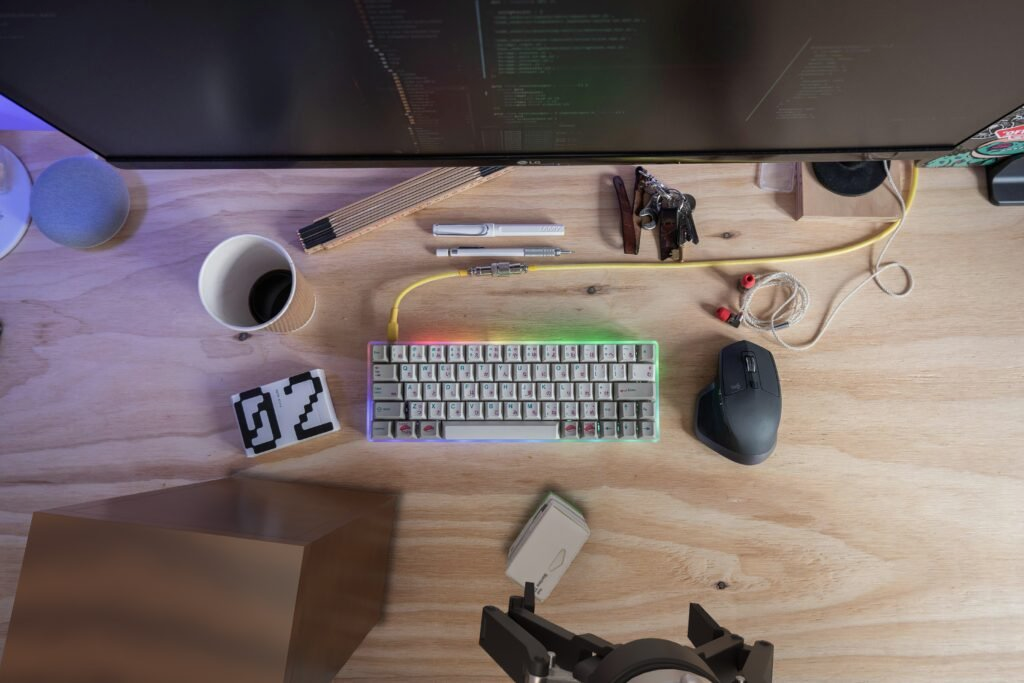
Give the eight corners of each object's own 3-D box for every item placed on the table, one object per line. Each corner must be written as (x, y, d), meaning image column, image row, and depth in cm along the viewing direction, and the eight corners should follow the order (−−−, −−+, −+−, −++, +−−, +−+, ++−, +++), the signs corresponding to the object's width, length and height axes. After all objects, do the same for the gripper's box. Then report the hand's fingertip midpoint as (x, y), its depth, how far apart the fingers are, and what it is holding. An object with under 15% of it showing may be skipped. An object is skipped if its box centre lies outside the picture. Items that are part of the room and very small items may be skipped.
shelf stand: (379, 619, 70) (280, 747, 42) (212, 597, 70) (7, 708, 43) (396, 496, 71) (312, 541, 44) (233, 476, 72) (49, 508, 45)
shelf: (280, 747, 42) (271, 759, 40) (7, 708, 43) (-12, 719, 41) (312, 541, 44) (304, 545, 42) (49, 508, 45) (33, 511, 43)
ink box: (549, 488, 71) (553, 501, 59) (583, 513, 71) (594, 531, 59) (506, 550, 70) (501, 575, 58) (540, 576, 70) (543, 607, 58)
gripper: (940, 698, 28) (765, 581, 49) (420, 629, 29) (466, 543, 50) (937, 873, 27) (760, 678, 48) (399, 795, 28) (454, 637, 50)
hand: (609, 609), depth 49 cm, fingers open, 13 cm apart
